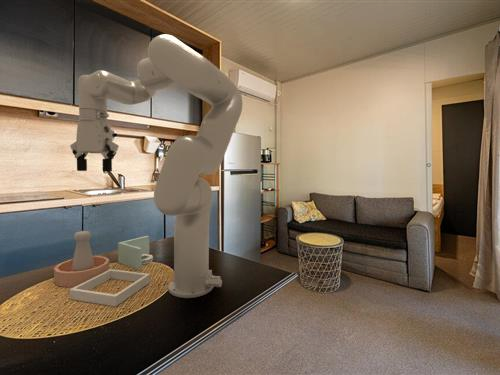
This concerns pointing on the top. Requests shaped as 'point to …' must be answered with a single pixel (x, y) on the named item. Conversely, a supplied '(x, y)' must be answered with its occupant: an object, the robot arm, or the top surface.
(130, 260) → the right angle wall
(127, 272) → the rectangular frame
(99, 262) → the bowl
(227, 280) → the top surface
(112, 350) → the top surface
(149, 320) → the top surface
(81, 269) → the salt shaker
